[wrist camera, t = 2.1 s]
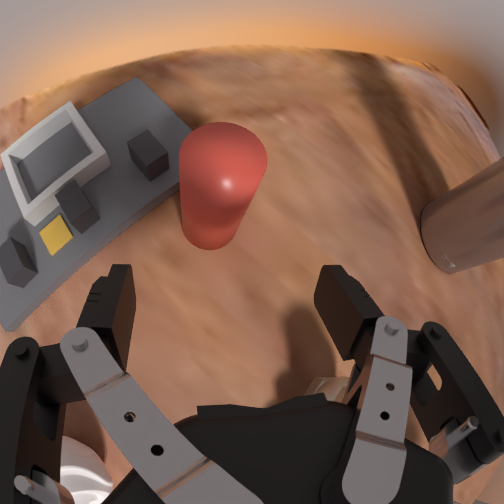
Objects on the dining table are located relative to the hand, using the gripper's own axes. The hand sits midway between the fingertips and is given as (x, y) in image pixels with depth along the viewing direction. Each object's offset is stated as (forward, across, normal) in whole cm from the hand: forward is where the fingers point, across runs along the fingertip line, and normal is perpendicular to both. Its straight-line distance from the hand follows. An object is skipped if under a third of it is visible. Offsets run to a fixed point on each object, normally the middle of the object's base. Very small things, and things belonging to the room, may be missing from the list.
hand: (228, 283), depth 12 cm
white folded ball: (-2, +12, +18) cm, 22 cm away
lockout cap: (+12, 0, +3) cm, 13 cm away
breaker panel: (+15, +13, +1) cm, 20 cm away
